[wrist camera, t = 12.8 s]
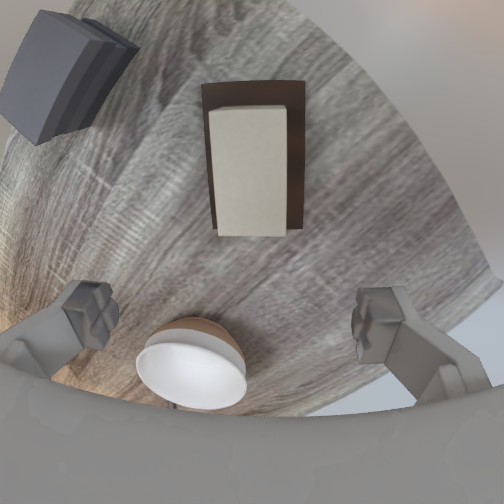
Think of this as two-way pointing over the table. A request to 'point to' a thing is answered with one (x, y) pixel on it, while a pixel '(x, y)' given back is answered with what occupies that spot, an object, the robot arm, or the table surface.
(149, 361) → the bowl
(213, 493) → the robot arm
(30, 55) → the grey books
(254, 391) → the table surface
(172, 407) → the pen
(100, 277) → the table surface
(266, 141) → the white book
